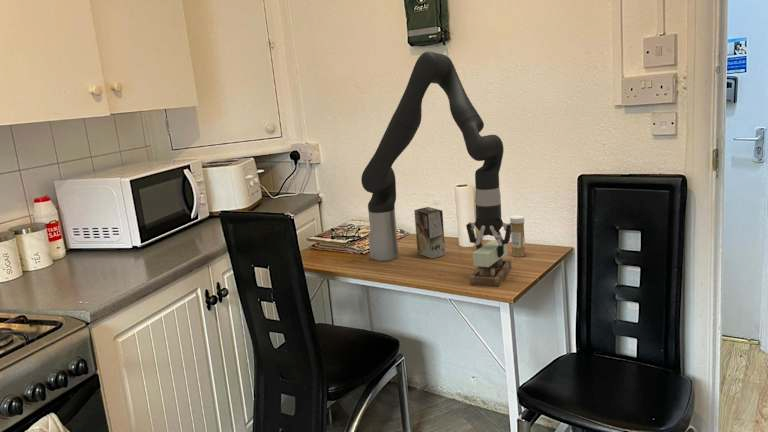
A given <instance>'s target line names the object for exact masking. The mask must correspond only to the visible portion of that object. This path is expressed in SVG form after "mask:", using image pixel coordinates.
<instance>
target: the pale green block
mask: <svg viewBox="0 0 768 432" xmlns="http://www.w3.org/2000/svg"><path fill="white" fill-rule="evenodd" d="M506 255H508V244H504V254H503V255H502V257H498V243H497V240H496V239H494V240H493V239H492V240H490V241H488V242H487V243H485V244H483V245H482V247H481V248H479V249H476V250H474V251H473V252H472V266H476V267H478V266H482V267H490V266H491V265H492V264H494V263H495V262H497V261H498V260H499V259H501V258H502V259H503V258H504V257H505V256H506Z"/></svg>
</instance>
